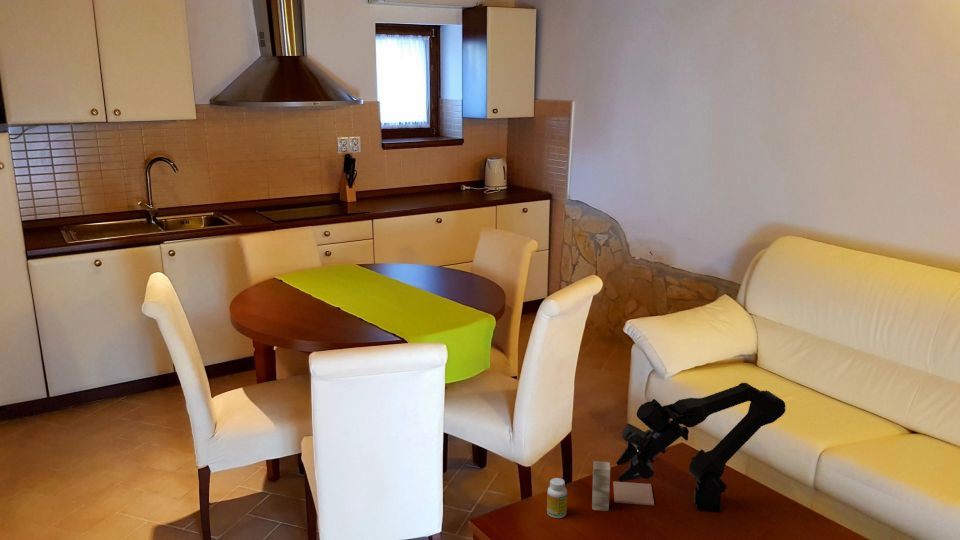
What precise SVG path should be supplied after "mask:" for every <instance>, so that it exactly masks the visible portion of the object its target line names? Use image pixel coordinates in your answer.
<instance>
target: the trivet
mask: <svg viewBox="0 0 960 540" xmlns="http://www.w3.org/2000/svg"><path fill="white" fill-rule="evenodd" d="M612 484H613V500H614V501H613V502H614V503H620V504H632V505H633V504H634V505H642V506H643V505H647V506H655V502H654V496H653V495H654V494H653V489H652V484H651V483H643V482H641V483H640V482H639V483H638V482H628V481H623V482H620V481H612Z"/></svg>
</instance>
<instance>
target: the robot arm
mask: <svg viewBox="0 0 960 540" xmlns="http://www.w3.org/2000/svg"><path fill="white" fill-rule="evenodd" d="M746 402H747V403H748V402H750V403H749V406H748V411H747V413H746V415H745V416H744V417H743V418H741V419H740V421H739V422H738V423H736V424H735V426H734V427H733V428H732V429H731V430H730V431H729V432H728V433H727V434H726V435H725V436H724V437H723V438H722V439H721V440H720V441H719V442H718V443H717V444H716V445H715V446H714V447H713V449H710V450H707V451H705V450H704V449H700V450H699V451H698V452H697V453H696V455H694V456H693V457H691V461H690V462H689V464H688V469H689V470H688V471H689V473H690V474H691V476H693V478H694V480H696V481H697V482H696V486H695V487H694V489H693V490H694V491H693V492H694V493H693V503H694V505H695V506H696V510H697V511H704V512H705V511H706V512H715V513H716V512H717V513H721V512H722V511H723V510H722V507H721V501H722V493H725V491H726V489H727V487H728V485H727V484H726V483H725V482H724V481H723V480H722V479H721V477H722V476H723V474H724V472H725V468H726V464H727V463H728V462H729V460H731V458H732V457H733V456H734V455H735V454H736V453H737V452H738V451H739V450H740V449H741V448H742V447H743V446H744V445H745V444H746V443H747V442H748V441H749V440H750V439H752V437H753V436H754V435H755V434H756V432H758V431H759V430H760V429H761V428H762V427H763V426H766V425H770V424H772V423H774V422H776V421H777V420H779V418H781V417H783V415H784V414H785V413H786V402H785V401H784V400H783V399H781V398H780V397H779V396H777V395H776V394H774V393H772V391H769V390H759V389H758V388H756V387H755V386H753V385H751V384H749V383H748V382H740V383H739V384H738V385H735V386H732V387H730V388H727V389H723V390H721V391H718V392H715V393H713V394H710V395H707V396H704V397H698V398H697V397H689V398H681V399H678V400H676V401H675V402H674V403H673V402H672V403H670V404H667V405H666V404H665V405H663V406H662V405H661V403H660V402H659V401H658V400H656V398H653V399H652V400H651V401H647V402H644V403H643V404H642V403H641V405H640V406H639V407H638V408H637V411H636V417H637V419H638V420H640V421H641V422H642V423H643V424H644V425H645V426H646V427H647V428H648V429H647V430H646V431H643V430H642V429H641V428H639V427H637V426H635V425H633V424H630V423H627V422H626V425H625V427H624V429H622V432H621V435H622V437H621V438H622V439H623V440H624V441H625V442H627V445H626V447H625V450H623V452H622V453H621V455H620V456H619V458H618V459H617V461H616V465H617V466H619V467H620V466H622V465H625V464H628V463H629V465H628V467H627V468H626V469H625V470H624V471H623V472H622V473H621V474H620V475H619V476H618V477H617V480H618V482H628V481H632V480H640V479H643V480H647V481H649V480H650V479H652V478H653V477H654V475H655V474H654V473H655V470H654V464H652V463H654V462H655V457H657V456H658V455H660V454H666V452H667V448H668V447H670V446H671V445H672V444H673V443H675V442H676V441H677V440H679V439H680V438H681V437H682V438H683V440H685V441H686V442H688V441H689V432H690V431H689V428H694V427H696V426H698V425H700V424H702V423H703V422H705V421H706V419H708V417H709V416H711V415H713V414H715V413H719V412H721V411H724V410H727V409H730V408H733V407H736V406H739V405H740V404H741V405H742V404H744V403H746ZM682 425H683V426H682Z"/></svg>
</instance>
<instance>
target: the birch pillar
mask: <svg viewBox="0 0 960 540" xmlns="http://www.w3.org/2000/svg"><path fill="white" fill-rule="evenodd" d="M610 481H611V463H610V461H609V462H608V461H598V460H597V461H596V460H593V468H592V499H591V503H592V504H591V509H592V510H593V511H602V512H606V511H607V512H609V508H610V506H609V505H610V487H611V486H610V483H611V482H610Z"/></svg>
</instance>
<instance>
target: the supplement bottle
mask: <svg viewBox="0 0 960 540" xmlns="http://www.w3.org/2000/svg"><path fill="white" fill-rule="evenodd" d="M550 479H551V478H550ZM565 485H566V484H565V480H564V479H562V478H559V477H555V478H552V479H551V480H550V481H549V486H548V488H547V495H546V496H547V497H546V499H547V500H546V501H547V502H546V503H547V504H546V513H547V515H548V516H549V517H551V518H554V519H561V518H564V517H566V515H567V510H568V509H567V508H568V507H567V506H568V490H567V487H565Z"/></svg>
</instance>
